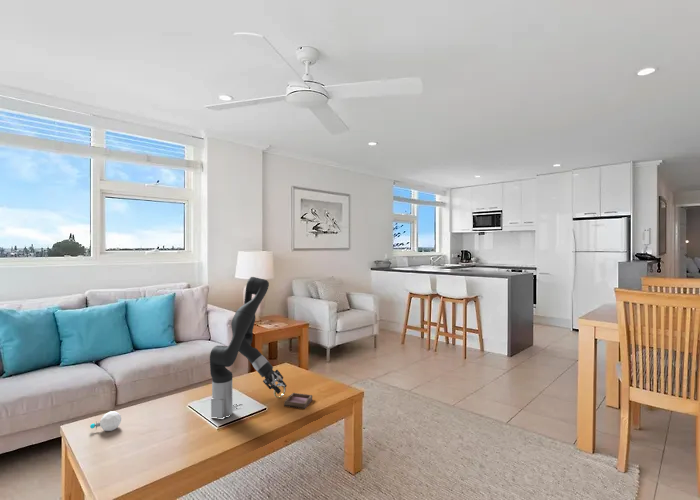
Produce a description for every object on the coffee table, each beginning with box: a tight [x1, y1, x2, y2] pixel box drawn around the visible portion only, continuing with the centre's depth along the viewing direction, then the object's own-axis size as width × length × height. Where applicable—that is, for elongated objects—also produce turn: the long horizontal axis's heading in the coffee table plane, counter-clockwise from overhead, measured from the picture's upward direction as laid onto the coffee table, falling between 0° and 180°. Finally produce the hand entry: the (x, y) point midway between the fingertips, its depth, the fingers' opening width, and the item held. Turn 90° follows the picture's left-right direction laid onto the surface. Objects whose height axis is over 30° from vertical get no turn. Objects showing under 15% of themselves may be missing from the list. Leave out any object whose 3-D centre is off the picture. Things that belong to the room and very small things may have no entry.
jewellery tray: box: [283, 392, 313, 410], centre depth 193 cm, size 11×11×2 cm
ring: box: [273, 382, 287, 399], centre depth 199 cm, size 7×3×8 cm, turn 133°
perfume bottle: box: [89, 410, 122, 432], centre depth 164 cm, size 8×8×12 cm
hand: (282, 389), depth 198 cm, fingers closed on ring, 6 cm apart
